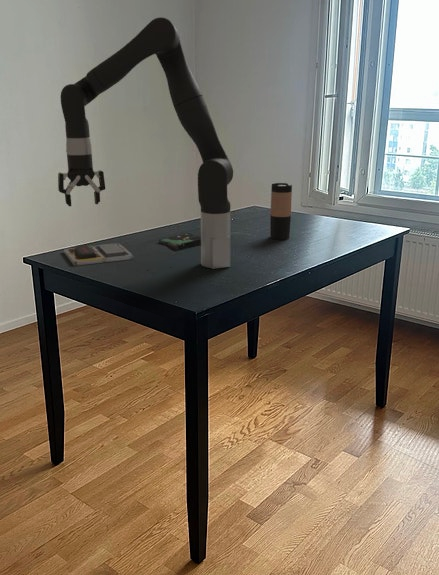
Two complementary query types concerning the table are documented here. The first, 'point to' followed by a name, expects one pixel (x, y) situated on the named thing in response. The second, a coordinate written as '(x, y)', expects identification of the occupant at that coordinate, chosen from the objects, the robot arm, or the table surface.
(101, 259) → the tray
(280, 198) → the travel mug
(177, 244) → the disk drive
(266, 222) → the table surface
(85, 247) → the usb drive
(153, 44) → the robot arm
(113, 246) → the blank panel
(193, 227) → the table surface
